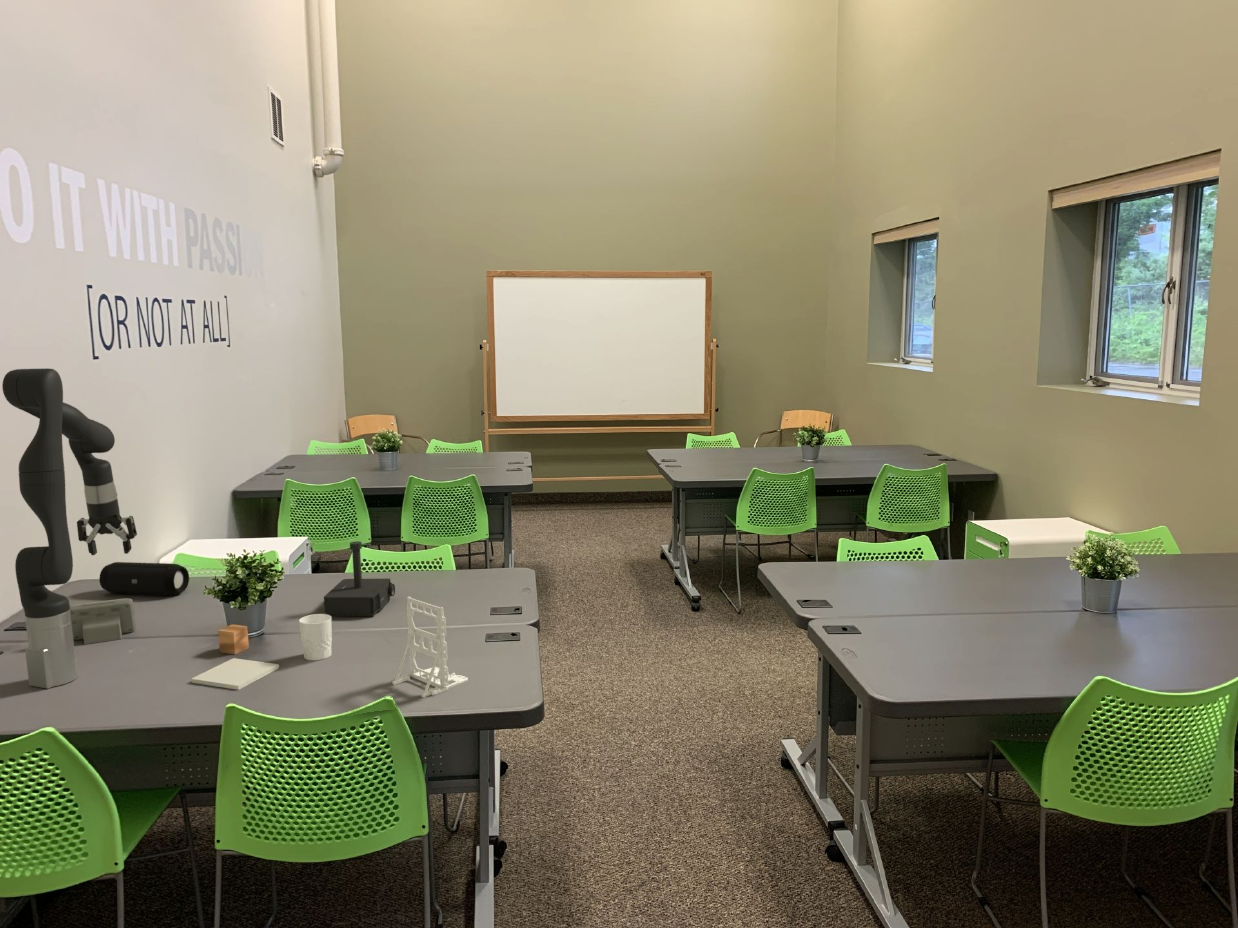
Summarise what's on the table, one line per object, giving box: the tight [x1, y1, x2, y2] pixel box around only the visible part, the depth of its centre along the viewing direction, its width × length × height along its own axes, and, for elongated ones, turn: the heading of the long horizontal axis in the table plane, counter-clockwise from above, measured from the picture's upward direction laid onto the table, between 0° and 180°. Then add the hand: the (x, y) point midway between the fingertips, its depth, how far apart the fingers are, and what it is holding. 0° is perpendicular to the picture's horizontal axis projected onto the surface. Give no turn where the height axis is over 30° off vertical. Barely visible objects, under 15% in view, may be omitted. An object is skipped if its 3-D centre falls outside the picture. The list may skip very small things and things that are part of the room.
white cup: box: [298, 613, 333, 662], centre depth 237 cm, size 8×8×10 cm
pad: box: [191, 657, 280, 690], centre depth 225 cm, size 14×14×1 cm
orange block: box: [217, 624, 250, 655], centre depth 242 cm, size 5×5×6 cm
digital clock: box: [70, 598, 137, 645], centre depth 253 cm, size 16×9×11 cm, turn 104°
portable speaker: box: [98, 561, 190, 596], centre depth 293 cm, size 26×10×10 cm, turn 82°
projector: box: [323, 540, 396, 618], centre depth 276 cm, size 19×17×20 cm
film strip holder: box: [391, 596, 469, 698], centre depth 218 cm, size 14×14×20 cm
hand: (110, 553), depth 256 cm, fingers open, 8 cm apart
